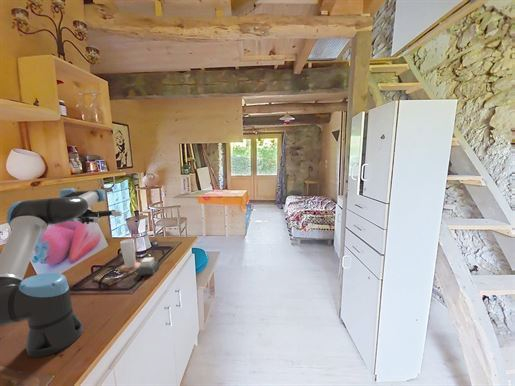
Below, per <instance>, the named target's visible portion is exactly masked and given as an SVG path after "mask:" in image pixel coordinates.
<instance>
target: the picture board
mask: <svg viewBox="0 0 515 386" xmlns="http://www.w3.org/2000/svg"><path fill="white" fill-rule="evenodd" d="M135 261H136V266H134V267H133V268H126V267H125V263H124V264H122V265H120V266H118V267H116V269H115V268H114V269H115V270H118V271H117V272H116V271H114V272H116V273H118V274H120V273H119V272H124V271H125V272H126V274H124V275H123V276H122V277H125V276H128V275H130V274H132V275H134V274H135V272H136V273H138V272H137V268H138V267H139V266H140V265H141V261H137V260H135ZM112 270H113V269H111V270H109V271H107V272H104V273H102V274H100V275H97V276H96V277H93V279H96V280H98V281H99V280H100V279H101V278H102V277H103V276H104V275H105V274H107V273H109V272H110V271H112ZM133 273H134V274H133ZM130 276H131V275H130ZM122 277H119V278H116V279H112V278H105V279H104V280H103V282H104V283H106V284H111V283H113V282H115V281H117V280H119V279H121V278H122ZM128 277H129V276H128ZM96 280H95V281H96ZM98 281H97V282H98ZM106 284H105V285H106ZM111 285H112V284H111Z"/></svg>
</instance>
